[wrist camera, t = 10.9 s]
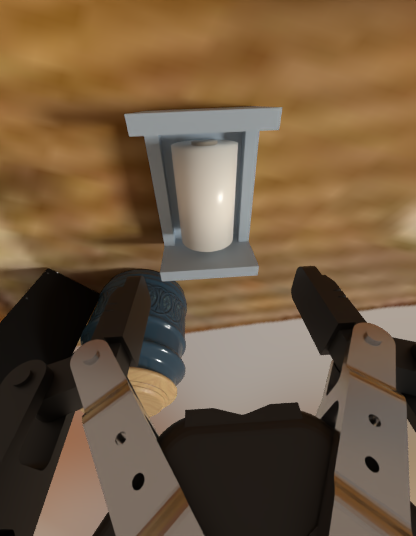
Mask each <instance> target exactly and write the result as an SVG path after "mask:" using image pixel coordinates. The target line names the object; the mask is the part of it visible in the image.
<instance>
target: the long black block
mask: <svg viewBox="0 0 416 536" xmlns="http://www.w3.org/2000/svg"><path fill="white" fill-rule="evenodd" d="M99 296H100V294H98V293H96V292H94V291H93V290H91V289H89V288H87V287H85V286H83V285H81V284H79V283H77V282H75V281H73V280H71V279H69V278H67V277H65V276H63V275H61V274H59V273H58V272H55V271H53V270H51V269H47V270H46V271H45V272H44V273H43V274H42V276H41V277H40V278H39V279H38V280H37V281H36V282H35V284H34V285H33V286H32V287H31V288H30V289H29V290H28V291H27V293H26V294H25V295H24V296H23V297H22V298H21V299H20V301H19V302H18V303H17V304H16V305H15V306H14V308H13V309H12V310H11V311H10V312H9V313H8V314H7V316H6V317H5V318H4V319H3V320H2V321H1V323H0V384H1V383H2V381H3V380H4V379H5V377H6V376H7V375H8V374H9V373H10V372H11V371H12V370H13V369H15V368H16V367H17V366H19V365H21V364H23V363H25V362H27V361H30V360H41V361H43V362H44V363H45V364H46V365H49V364H52V363H55V362H58V361H61V360H64V359H66V358H69V357H71V355H72V354H73V352H74V350H75V347H76V345H77V343H78V341H79V339H80V337H81V334H82V331H83V329H84V328H85V326H86V324H87V322H88V320H89V318H90V316H91V314H92V312H93V310H94V308H95V305H96V303H97V301H98V299H99Z"/></svg>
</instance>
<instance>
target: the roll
mask: <svg viewBox="0 0 416 536" xmlns="http://www.w3.org/2000/svg"><path fill="white" fill-rule="evenodd" d="M171 152H172V160H173V169H174V177H175V186H176V194H177V203H178V211H179V220H180V228H181V236H182V242H183V244H184V245H185V246H186V247H187V248H189V249H191V250H194V251H199V252H213V251H218V250H222V249H224V248H226V247H228V246H229V245H230V244H231V243H232V241H233V227H234V209H235V191H236V172H237V154H238V143H237V142H235V141H230V140H218V139H203V140H190V141H182V142H177V143H174V144H172V145H171Z"/></svg>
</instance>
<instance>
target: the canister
mask: <svg viewBox="0 0 416 536" xmlns="http://www.w3.org/2000/svg"><path fill="white" fill-rule="evenodd" d="M129 276H144V278H145V281H146V284H147V288H148V291H149V294H150V299H151V307H150V312H149V317H148V321H147V326H146V330H145V335H144V339H143V344H142V348H141V353H140V357H139V362H138V366H136V367H129V371H128V375H127V377H128V378H129V380H130V382H131V384H132V386H133V388H134V390H135V392H136V394H137V396H138V398H139V400H140V401H141V403H142V405H143V407H144V409H145V411H146V413H147V415H148V416H149V417H151V416H153V415H156V414H157V413H159V412H160V411H161V410H162V409H163V408H164V407H166V406H168V405H169V404H171V403H172V402H173V401H174V400H175V398H176V396H177V388H176V385H177V384H179V383H180V382H181V380H182V379H183V377H184V375H185V365H184V363H183V361H182V359H181V357H182V355H183V354H184V352H185V348H186V342H185V316H186V312H187V303H186V299H185V295H184V292H183V290H182V288H181V287H180V286H179V284H178V283H177V282H175V281H162V279H161V275H160V273H159V272H156V271H151V270H142V269H141V270H130V271H126V272H123V273H120V274H118V275H116V276H115V277H113V278H112V279H111V280H110V281H109V282H108V284H107V285H106V286H105V287H104V288H103V290H102V292H101V294H100V296H99V299H98V303H97V306H96V308H95V310H94V312H93V314H92V316H91V318H90V320H89V323H88V325H87V326H86V327H85V328H84V329H83V331H82V334H81V338H80V341H81V346H82V345H83V344H85V343H87V342H89V341H90V340H91V338H92V336H93V333H94V331H95V329H96V327H97V324H98V322H99V320H100V318H101V315H102V313H103V312H104V309H105V306H106V305H107V302H108V299H109V297H110V295H111V294H112V293H113V292H114V291H115V290H116V289H117V288H118V287H124V284H125V282H126V279H127V277H129ZM74 353H75V352H74ZM74 353H73V354H74ZM73 354H72V355H71V357H72V356H73ZM80 410H81V411H82V412H83V413H85V412H84V408H82V409H80Z"/></svg>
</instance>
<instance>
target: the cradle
mask: <svg viewBox="0 0 416 536" xmlns="http://www.w3.org/2000/svg"><path fill="white" fill-rule="evenodd" d="M281 113H282V107H258V106H252V107H228V108H204V109H181V110H157V111H142V112H135V113H128V114H124V116H125V120H126V124H127V129H128V133H129V137H133V136H144V139H145V144H146V149H147V155H148V160H149V165H150V171H151V176H152V181H153V187H154V192H155V197H156V202H157V208H158V213H159V218H160V224H161V229H162V234H163V240H164V245H165V248H164V253H163V259H162V264H161V270H160V275H161V279H162V281H177V280H192V279H207V278H222V277H237V276H252V275H258V268H259V265H258V263H257V261H256V258H255V256H254V253H253V251H252V249H251V246H250V244H249V231H250V221H251V211H252V201H253V191H254V181H255V171H256V161H257V151H258V141H259V131H264V130H279V126H280V120H281ZM203 139H218V140H230V141H235V142H237V143H238V154H237V172H236V191H235V209H234V227H233V241H232V243H231V244H230V245H229V246H228V247H226V248H224V249H222V250H218V251H213V252H199V251H194V250H191V249H189V248H187V247H186V246H185V245H184V244H183V242H182V236H181V228H180V220H179V211H178V203H177V194H176V186H175V177H174V169H173V160H172V152H171V145H172V144H174V143H177V142H182V141H190V140H203Z"/></svg>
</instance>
